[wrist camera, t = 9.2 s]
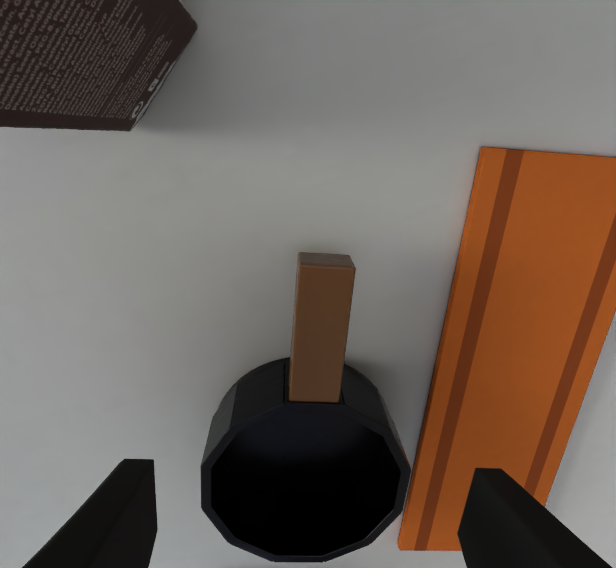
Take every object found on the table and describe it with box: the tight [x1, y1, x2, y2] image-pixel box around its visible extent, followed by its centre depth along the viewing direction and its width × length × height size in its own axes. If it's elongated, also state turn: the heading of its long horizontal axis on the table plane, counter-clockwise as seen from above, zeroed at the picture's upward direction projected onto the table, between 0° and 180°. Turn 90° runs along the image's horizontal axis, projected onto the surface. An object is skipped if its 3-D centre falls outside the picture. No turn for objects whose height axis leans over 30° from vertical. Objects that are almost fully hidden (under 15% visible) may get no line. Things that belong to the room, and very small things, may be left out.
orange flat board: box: [398, 147, 616, 551], centre depth 19 cm, size 20×7×1 cm, turn 176°
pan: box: [201, 252, 411, 562], centre depth 17 cm, size 13×8×3 cm, turn 176°
